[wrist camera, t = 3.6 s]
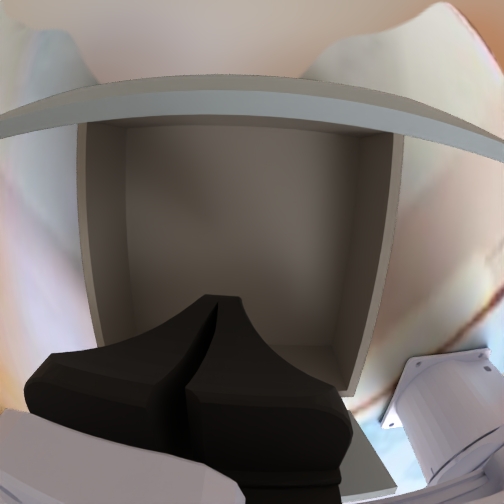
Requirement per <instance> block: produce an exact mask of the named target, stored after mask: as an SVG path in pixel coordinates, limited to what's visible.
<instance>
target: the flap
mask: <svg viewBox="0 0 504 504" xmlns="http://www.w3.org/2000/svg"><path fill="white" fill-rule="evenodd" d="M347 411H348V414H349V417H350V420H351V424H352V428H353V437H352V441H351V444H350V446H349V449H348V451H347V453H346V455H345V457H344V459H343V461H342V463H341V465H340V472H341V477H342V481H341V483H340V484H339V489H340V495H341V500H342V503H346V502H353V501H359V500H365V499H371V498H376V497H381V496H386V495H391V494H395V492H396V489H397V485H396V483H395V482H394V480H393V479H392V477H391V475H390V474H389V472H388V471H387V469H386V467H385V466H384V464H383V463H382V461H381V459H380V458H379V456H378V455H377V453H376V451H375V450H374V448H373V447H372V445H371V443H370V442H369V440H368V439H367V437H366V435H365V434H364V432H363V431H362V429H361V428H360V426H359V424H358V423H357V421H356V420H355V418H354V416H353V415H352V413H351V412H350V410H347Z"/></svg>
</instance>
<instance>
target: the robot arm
mask: <svg viewBox="0 0 504 504" xmlns="http://www.w3.org/2000/svg"><path fill="white" fill-rule="evenodd" d="M490 354H491V349H490V348H483V349H477V350H470V351H463V352H456V353H448V354H439V355H430V356H420V357H412V358H410V359H409V360H408V361H407V363H406V365H405V368H404V370H403V373H402V376H401V378H400V381H399V383H398V385H397V388H396V390H395V393H394V395H393V397H392V400H391V402H390V404H389V406H388V409H387V411H386V413H385V415H384V417H383V420H382V422H381V424H380V425H381V428H382V429H387V428H394V427H400V426H403V428H404V430H405V432H406V435H407V437H408V439H409V442H410V444H411V446H412V448H413V451H414V453H415V456H416V458H417V460H418V463H419V465H420V467H421V470H422V472H423V475H424V477H425V480H426V482H427V486H426V487H425V488H423V489H421V490H417V491H414V492H410V493H406V494H402V495H398V496H394V497H389V498H385V499H380V500H375V501H369V502H364V503H357V504H504V376H503V375H502V374H501V373H500V372H499V370H498V369H497V368H496V367H495V366H494V365H493V364H492V363H491V362H490V361H489V357H490ZM418 362H419V363H418ZM24 397H25V402H26V404H27V407H28V409H29V411H30V413H28V412H23V411H19V410H14V409H8V408H6V409H5V410H4V411H3V413H2V414H1V415H0V504H342V500H341V495H340V489H339V484H340V483H341V481H342V477H341V472H340V465H341V463H342V461H343V459H344V457H345V455H346V453H347V451H348V449H349V446H350V444H351V441H352V437H353V428H352V424H351V420H350V417H349V414H348V411H347V409H346V407H345V405H344V403H343V401H342V399H341V397H340V395H339V393H338V391H337V389H336V387H335V386H333V385H331V384H328V383H326V382H324V381H321V380H319V379H317V378H314V377H312V376H310V375H308V374H306V373H305V372H303V371H301V370H299V369H298V368H296V367H294V366H293V365H291V364H290V363H288V362H287V361H286V360H284V359H283V358H282V357H281V356H279V355H278V354H277V353H276V352H274V351H273V350H272V349H271V348H270V347H269V346H268V344H267V343H266V342H265V341H264V340H263V339H262V337H261V336H260V335H259V333H258V332H257V331H256V329H255V328H254V326H253V325H252V323H251V321H250V319H249V318H248V316H247V314H246V312H245V309H244V307H243V304H242V299H241V298H240V297H239V296H225V295H211V294H204V295H203V296H202V297H200V298H199V299H198V300H196V301H195V302H194V303H192V304H191V305H190V306H188V307H187V308H186V309H184V310H183V311H181V312H180V313H179V314H177V315H175V316H174V317H172V318H171V319H169V320H167V321H166V322H164V323H163V324H161V325H159V326H157V327H155V328H153V329H151V330H149V331H147V332H145V333H143V334H140V335H138V336H135V337H132V338H129V339H127V340H124V341H121V342H118V343H115V344H111V345H107V346H103V347H98V348H94V349H88V350H82V351H73V352H63V353H51V354H50V356H49V357H48V358H47V359H46V360H45V361H44V362H43V363H42V364H41V366H40V367H39V368H38V369H37V370H36V371H35V372H34V374H33V375H32V376H31V377H30V378H29V379H28V381H27V382H26V384H25V387H24Z"/></svg>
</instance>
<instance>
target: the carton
mask: <svg viewBox="0 0 504 504" xmlns="http://www.w3.org/2000/svg"><path fill="white" fill-rule="evenodd" d="M403 145H404V135H402V134H397V133H392V132H387V131H382V130H377V129H371V128H365V127H359V126H353V125H346V124H339V123H332V122H324V121H315V120H306V119H296V118H284V117H270V116H253V115H220V114H195V115H162V116H145V117H131V118H120V119H110V120H101V121H93V122H85V123H78V132H77V203H78V221H79V234H80V244H81V254H82V262H83V270H84V277H85V284H86V291H87V297H88V303H89V308H90V314H91V319H92V324H93V329H94V333H95V338H96V342H97V347H103V346H107V345H111V344H115V343H118V342H121V341H124V340H127V339H129V338H132V337H135V336H138V335H140V334H143V333H145V332H147V331H149V330H151V329H153V328H155V327H157V326H159V325H161V324H163V323H164V322H166V321H167V320H169V319H171V318H172V317H174V316H175V315H177V314H179V313H180V312H181V311H183V310H184V309H186V308H187V307H188V306H190V305H191V304H192V303H194V302H195V301H196V300H198V299H199V298H200V297H202V296H203V295H204V294H211V295H225V296H239V297H240V298H241V299H242V304H243V307H244V309H245V312H246V314H247V316H248V318H249V319H250V321H251V323H252V325H253V326H254V328H255V329H256V331H257V332H258V333H259V335H260V336H261V337H262V339H263V340H264V341H265V342H266V343H267V344H268V346H269V347H270V348H271V349H272V350H273V351H274V352H276V353H277V354H278V355H279V356H281V357H282V358H283V359H284V360H286V361H287V362H288V363H290V364H291V365H293V366H294V367H296V368H298V369H299V370H301V371H303V372H305V373H306V374H308V375H310V376H312V377H314V378H317V379H319V380H321V381H324V382H326V383H328V384H331V385H333V386H335V387H336V389H337V391H338V393H339V395H340V397H354V394H355V391H356V388H357V385H358V382H359V379H360V376H361V373H362V369H363V366H364V363H365V360H366V356H367V353H368V349H369V346H370V342H371V339H372V335H373V331H374V327H375V323H376V319H377V315H378V311H379V307H380V303H381V299H382V294H383V290H384V285H385V280H386V275H387V270H388V265H389V260H390V254H391V249H392V243H393V237H394V230H395V223H396V216H397V209H398V201H399V192H400V183H401V172H402V160H403Z"/></svg>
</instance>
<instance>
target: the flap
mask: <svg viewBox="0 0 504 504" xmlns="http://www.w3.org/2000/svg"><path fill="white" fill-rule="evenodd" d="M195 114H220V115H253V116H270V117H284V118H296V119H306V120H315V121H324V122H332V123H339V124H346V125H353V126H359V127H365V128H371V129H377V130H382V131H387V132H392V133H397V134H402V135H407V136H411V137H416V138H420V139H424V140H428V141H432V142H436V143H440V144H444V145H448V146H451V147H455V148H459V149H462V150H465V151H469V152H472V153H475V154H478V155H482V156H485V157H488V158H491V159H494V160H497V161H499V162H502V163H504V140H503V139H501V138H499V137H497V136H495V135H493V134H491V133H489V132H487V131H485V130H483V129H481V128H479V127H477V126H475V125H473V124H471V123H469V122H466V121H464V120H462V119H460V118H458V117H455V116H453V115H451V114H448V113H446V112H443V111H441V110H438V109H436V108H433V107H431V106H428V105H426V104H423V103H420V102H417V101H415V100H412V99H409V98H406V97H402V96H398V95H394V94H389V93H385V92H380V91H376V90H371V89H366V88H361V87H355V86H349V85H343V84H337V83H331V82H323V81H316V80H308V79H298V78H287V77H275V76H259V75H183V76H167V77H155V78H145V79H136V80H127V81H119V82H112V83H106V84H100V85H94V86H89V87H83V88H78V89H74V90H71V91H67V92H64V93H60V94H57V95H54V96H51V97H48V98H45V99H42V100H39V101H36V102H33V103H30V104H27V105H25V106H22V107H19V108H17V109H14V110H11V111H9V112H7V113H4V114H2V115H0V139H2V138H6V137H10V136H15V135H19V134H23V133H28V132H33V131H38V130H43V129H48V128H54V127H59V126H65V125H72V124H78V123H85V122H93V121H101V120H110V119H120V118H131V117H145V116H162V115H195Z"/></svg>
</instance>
